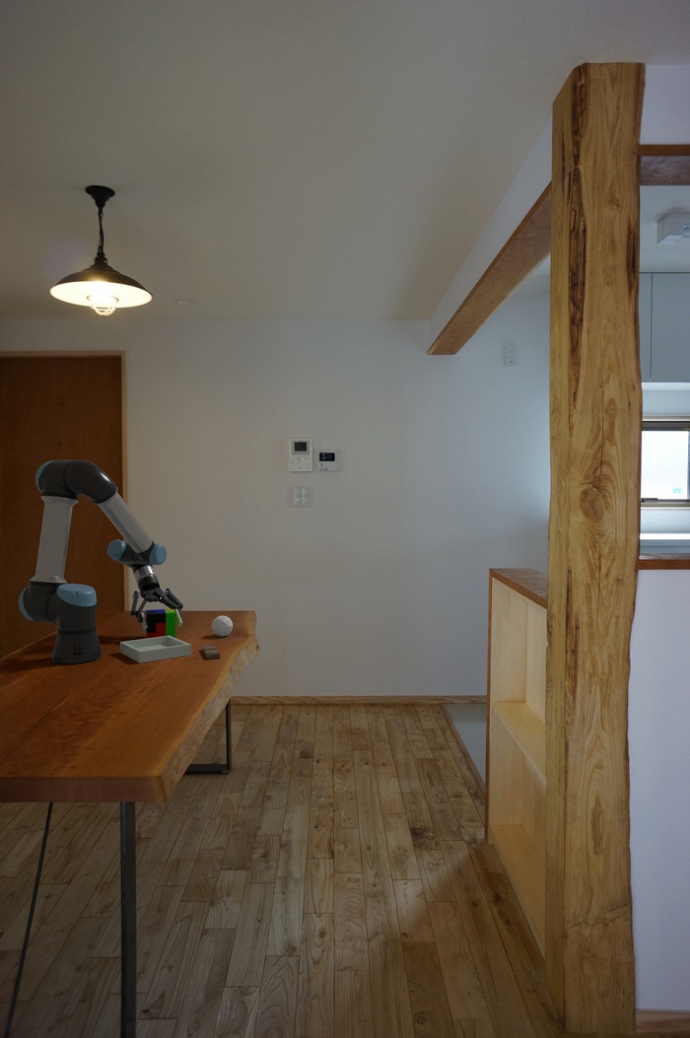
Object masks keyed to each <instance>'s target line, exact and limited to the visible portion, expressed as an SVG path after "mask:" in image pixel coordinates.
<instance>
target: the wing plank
mask: <svg viewBox="0 0 690 1038" xmlns="http://www.w3.org/2000/svg"><path fill="white" fill-rule="evenodd" d="M201 649H202V652H203V654H204V655H205V658H206V659H207V660H220V659H221V653H220V651H219V650H218V648H217V647H216V645H215V644H205V645H202V648H201Z"/></svg>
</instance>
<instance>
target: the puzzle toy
mask: <svg viewBox="0 0 690 1038" xmlns="http://www.w3.org/2000/svg"><path fill="white" fill-rule="evenodd" d="M145 619H146V622H147V626H148V627H147V630H146V631H145V639H148V638H155V637H163V636H172V637H174V638H176V632H177V631H176V630H177V629H176V626H177V625H176V624H177V622H176V613H175V611H174V609H170V608H160V609H159V608H158V609H146V610H145ZM176 639H177V638H176Z"/></svg>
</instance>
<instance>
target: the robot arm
mask: <svg viewBox="0 0 690 1038" xmlns="http://www.w3.org/2000/svg"><path fill="white" fill-rule="evenodd" d="M35 486H37V491H39V492H40V494H41V495H40V499H41V500H42V501H43V503H44V509H43V514H42V524H41V531H40V538H39V545H38V553H37V561H36V567H35V574H34V576H33V577H31V578H30V579H29V582H28V586H26V587H25V588H23V591H21V593H20V595H19V597H18V606H19V610H20V612H21V614H22V615H23V617H24V618H26V619H28V620H30V621H33V622H37V623H48V624H56V625H57V627H56V629H57V632H56V633H57V636H56V639H55V642H54V646H53V650H52V652H51V661H52V662H53V663H56V664H65V665H66V664H69V665H71V664H82V663H83V664H84V663H89V662H93V661H94V662H95V661H98V660H100V659H101V658H103V648H102V647H101V645H100V640H99V638H98V634H97V602H98V601H97V593H96V590H95V588H94V587H92V586H90V585H88V584H87V585H86V584H81V583H68V581H67V580H66V579H65V577H64V575H65V568H66V561H67V553H68V552H67V551H68V545H69V544H68V543H69V537H70V531H71V530H70V529H71V521H72V514H73V507H74V506H75V505H77V504H78V503H79V496H84V497H86V498H88V499H89V500H90V502H91V503H92V504H93V505H97V506H98V507H99V508H100V509H101V511H102V512H103V513H104V514H105V516H106V517H107V518H108V519H109V521H110V522H111V524H112V525H113V526H114V527H115V529H117V531H118V533H119V534H120V535H121V536H122V538H123V540H121V539H114V540H113V541H112V540H111V542H110V543H109V544H108V547H107V549H106V553H107V556H108V557H109V558H110V559H112V560H113V561H114V562H118V563H120V564H122V565H124V566H126V567H128V568H131V570H132V572H133V575H134V578H135V581H136V583H137V587H138V590H139V591H137V590H134V591H133V594H132V600H133V601H132V604H131V605H132V606H131V609H130V616H134V617H135V618H136V619H137V622H138V623H139V624H141V626H142V629H143V632H145V633H146V630H147V627H148V626H147V622H146V615H145V613H144V612H142V611H143V609H144V607H145V606H146V604H147V602H148V603H157V602H159V603H160V604H163V605H164V606H166V607H167V608H168V609H174V611H175V613H176V624H177V627H178V628H181V627H182V625H183V621H182V620H183V619H182V615H183V614H182V612H181V611H182V610H183V608H184V604H183V603H182V602H181V601H180V600H179V599H178V598H177V597H176V596H175V595H174V594H173V593H172V592H171V590H170V588H168V587H167V588H166V589H161V584H160V583H159V579H158V577H157V575H156V571H155V569H154V567H153V566H160V565H162V564H164V563H165V562H166V560H167V557H168V550H167V548H166V547H165V546H164V545H162V544H159V543H157V544H156V543H155V542H154V540H153V539H152V538H151V536H150V535H149V533H148V532H147V531H146V529H145V528H144V526H143V525H142V524H141V522H140V520H138V518H137V517H136V516H135V514H134V513H133V512H132V510H131V509H130V507H129V506H128V505H127V503H126V501H124V499H123V498H122V496H121V495H120V494H119V492H118V491H119V490H118V489H119V488H118V486H117V484H116V483H115V482H114V480H113V479H112V478H111V477H110V476H109V474H108V473H107V472H105V471H104V470H103V469H102V468H100V466H98V465H96V464H95V463H94V462H91V461H89V460H87V459H86V460H85V459H54V460H48V461H47V462H44V463H43V464H42V465H41V466H40V467H39V468H38V470H37V471H36V474H35ZM125 541H126V542H125ZM140 597H141V598H142V599H143V600H142V602H141V603H140V605H139V607H138V608H137V604H138V601H139V598H140Z"/></svg>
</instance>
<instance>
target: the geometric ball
mask: <svg viewBox="0 0 690 1038" xmlns="http://www.w3.org/2000/svg"><path fill="white" fill-rule="evenodd" d="M233 626H234V625H233V620H232V619H231V618H230V617H228V616H226V615H219V616H217V617H216V618H214V619H213V621H212V622H211V631H212V632H213V633H214V635H216V636H218V637H220V638H221V637H228V635H230V633H231V632H232V630H233Z"/></svg>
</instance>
